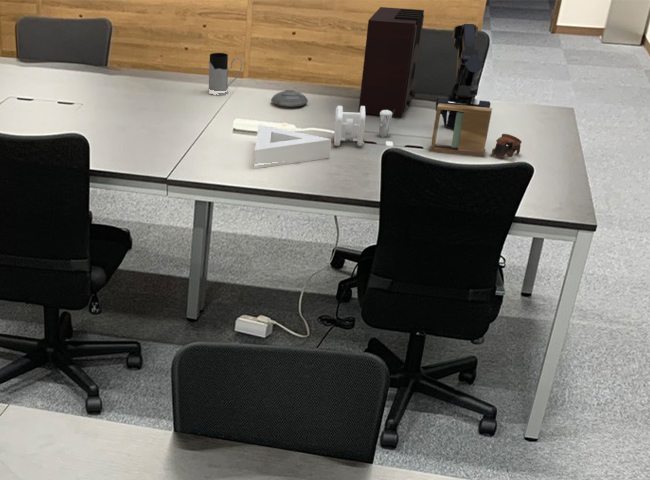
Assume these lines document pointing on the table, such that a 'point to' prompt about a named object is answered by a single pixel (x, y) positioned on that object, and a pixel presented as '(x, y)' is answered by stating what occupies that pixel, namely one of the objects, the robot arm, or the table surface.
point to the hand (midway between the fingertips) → (458, 128)
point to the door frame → (465, 130)
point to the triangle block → (288, 147)
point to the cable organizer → (349, 125)
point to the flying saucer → (289, 98)
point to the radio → (391, 60)
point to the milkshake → (385, 122)
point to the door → (457, 129)
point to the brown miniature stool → (503, 149)
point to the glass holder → (219, 72)
